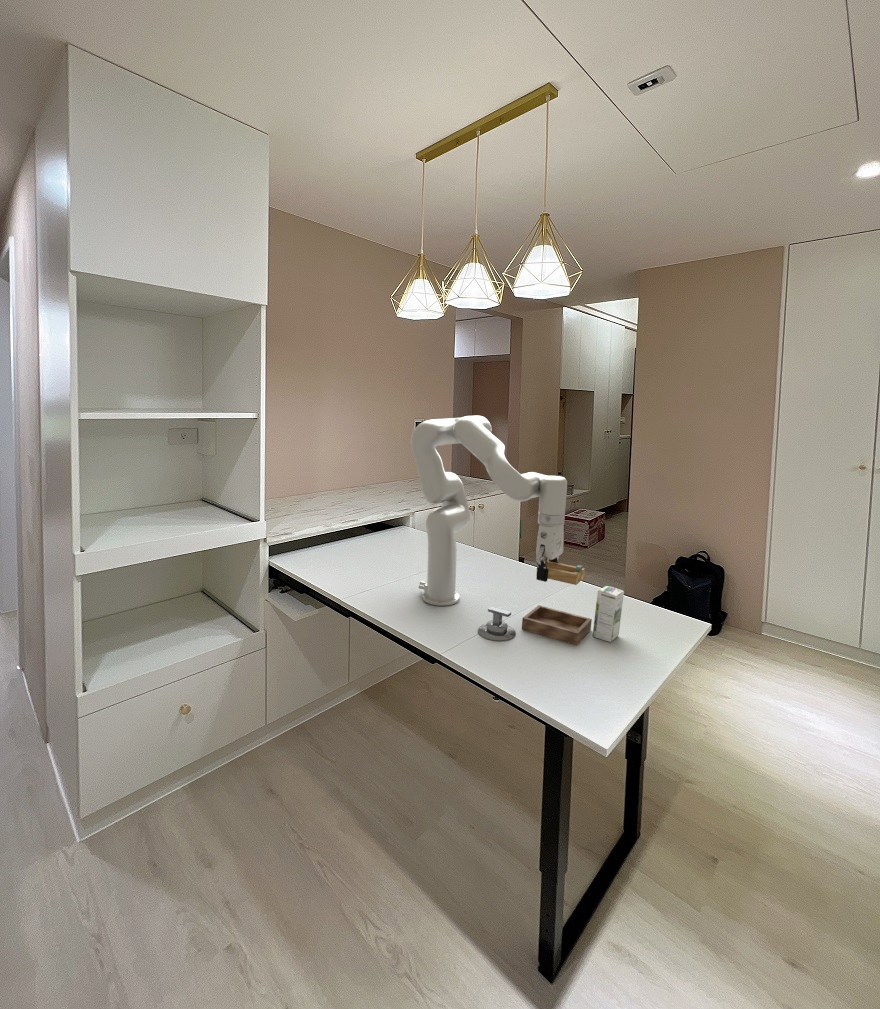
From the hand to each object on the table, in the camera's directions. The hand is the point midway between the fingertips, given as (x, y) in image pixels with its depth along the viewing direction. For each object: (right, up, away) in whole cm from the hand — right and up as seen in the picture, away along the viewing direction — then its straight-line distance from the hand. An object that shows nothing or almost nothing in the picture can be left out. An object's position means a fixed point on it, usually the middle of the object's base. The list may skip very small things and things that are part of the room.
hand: (547, 576), depth 158 cm
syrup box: (+17, -18, -2) cm, 24 cm away
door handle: (-15, -16, -2) cm, 22 cm away
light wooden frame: (+3, 0, -2) cm, 4 cm away
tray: (+3, -16, +1) cm, 16 cm away
